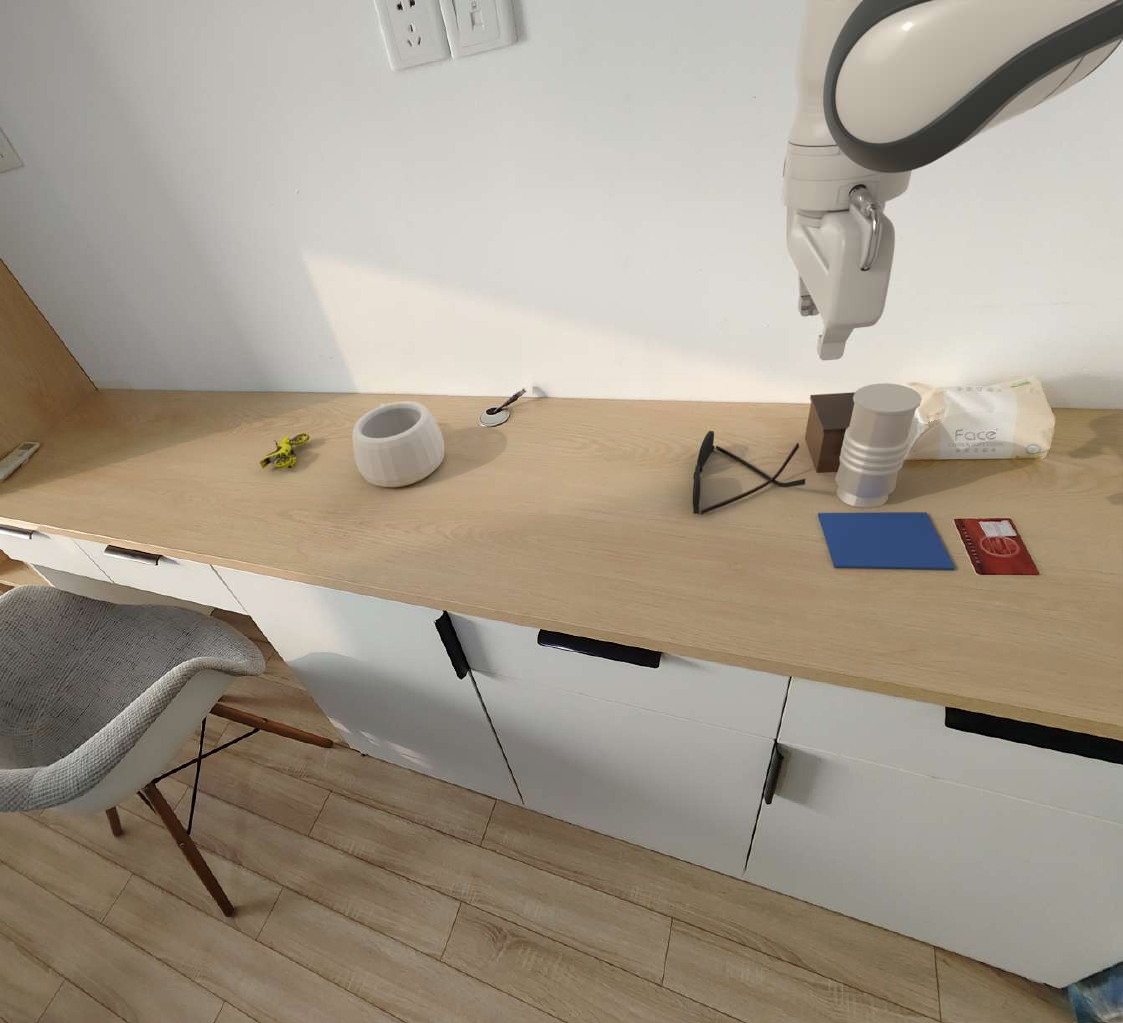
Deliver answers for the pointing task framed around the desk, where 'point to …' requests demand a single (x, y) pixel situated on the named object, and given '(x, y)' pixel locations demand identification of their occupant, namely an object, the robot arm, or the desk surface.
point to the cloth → (884, 541)
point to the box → (828, 428)
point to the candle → (875, 443)
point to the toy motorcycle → (284, 452)
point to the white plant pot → (397, 444)
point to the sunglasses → (709, 447)
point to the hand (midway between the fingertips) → (818, 333)
